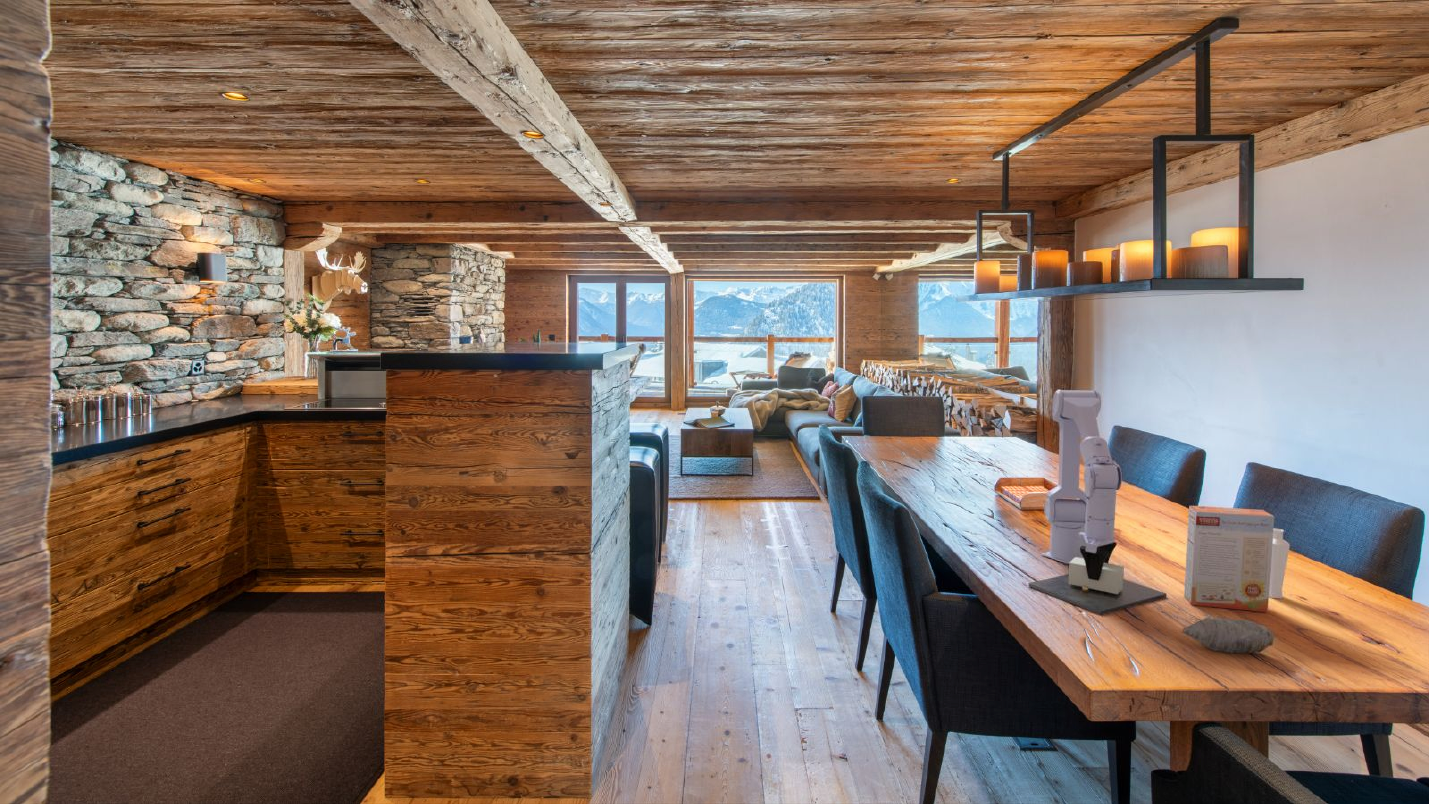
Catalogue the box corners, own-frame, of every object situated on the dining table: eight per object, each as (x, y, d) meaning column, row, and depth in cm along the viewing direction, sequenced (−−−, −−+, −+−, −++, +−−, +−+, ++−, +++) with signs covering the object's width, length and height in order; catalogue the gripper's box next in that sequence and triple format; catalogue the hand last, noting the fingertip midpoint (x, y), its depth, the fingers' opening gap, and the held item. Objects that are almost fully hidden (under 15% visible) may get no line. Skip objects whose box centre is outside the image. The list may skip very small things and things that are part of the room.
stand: (1092, 571, 173) (1093, 551, 172) (1166, 597, 157) (1167, 575, 156) (1028, 586, 163) (1029, 565, 163) (1100, 615, 147) (1101, 591, 147)
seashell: (1174, 623, 137) (1198, 591, 133) (1247, 656, 134) (1273, 625, 131) (1182, 643, 131) (1207, 610, 128) (1259, 678, 128) (1287, 646, 125)
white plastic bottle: (1279, 600, 154) (1285, 534, 153) (1256, 594, 158) (1262, 528, 157) (1290, 597, 156) (1296, 531, 155) (1267, 590, 160) (1272, 526, 159)
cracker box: (1257, 603, 153) (1264, 508, 151) (1268, 614, 148) (1276, 516, 145) (1182, 595, 158) (1188, 503, 156) (1190, 605, 152) (1197, 510, 150)
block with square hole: (1122, 587, 159) (1123, 566, 158) (1117, 594, 155) (1118, 572, 154) (1074, 577, 165) (1075, 557, 165) (1068, 583, 162) (1069, 562, 161)
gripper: (1088, 507, 166) (1085, 563, 168) (1071, 520, 155) (1068, 580, 157) (1122, 512, 162) (1119, 570, 163) (1107, 526, 151) (1104, 588, 152)
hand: (1096, 575), depth 160 cm, fingers closed on block with square hole, 5 cm apart
